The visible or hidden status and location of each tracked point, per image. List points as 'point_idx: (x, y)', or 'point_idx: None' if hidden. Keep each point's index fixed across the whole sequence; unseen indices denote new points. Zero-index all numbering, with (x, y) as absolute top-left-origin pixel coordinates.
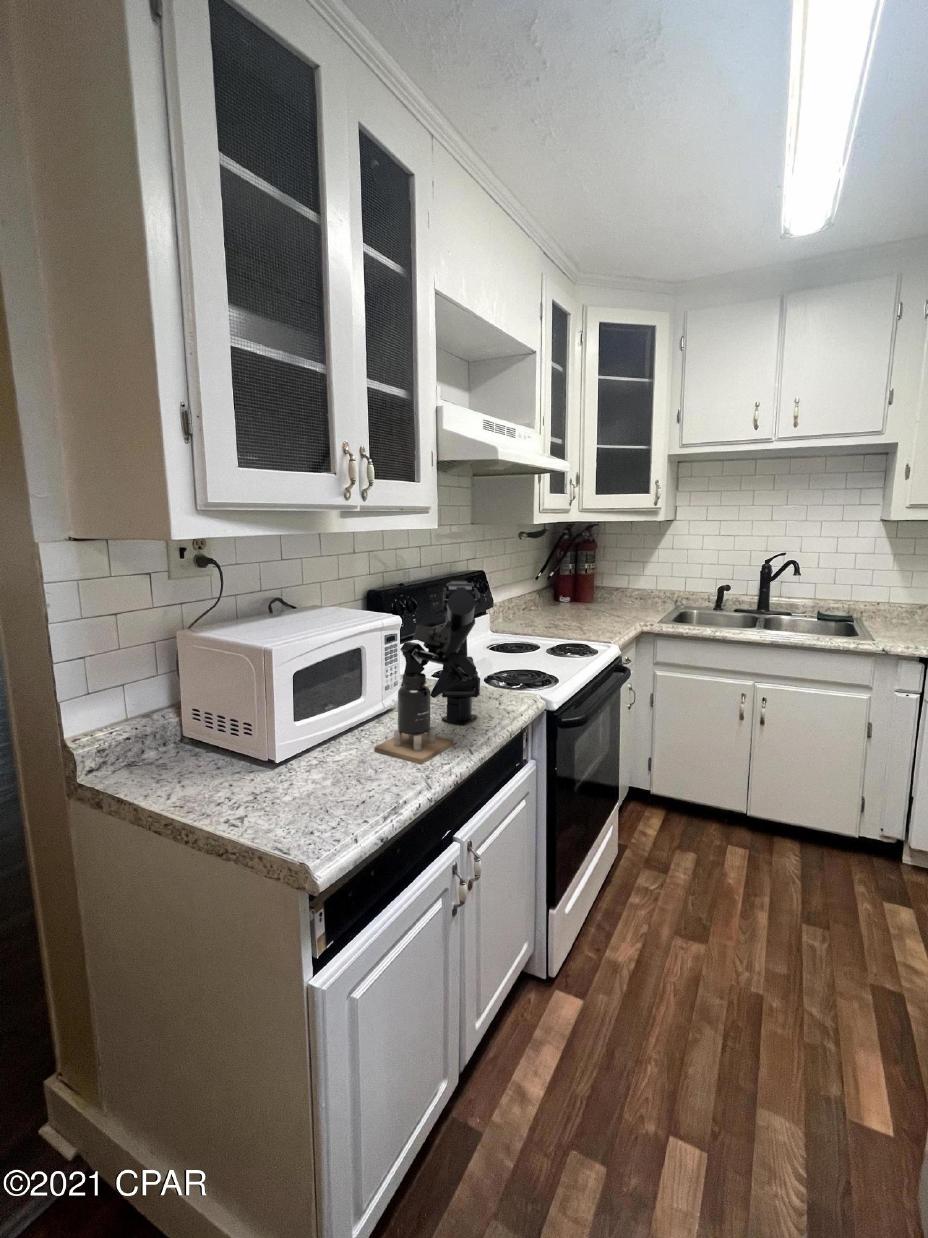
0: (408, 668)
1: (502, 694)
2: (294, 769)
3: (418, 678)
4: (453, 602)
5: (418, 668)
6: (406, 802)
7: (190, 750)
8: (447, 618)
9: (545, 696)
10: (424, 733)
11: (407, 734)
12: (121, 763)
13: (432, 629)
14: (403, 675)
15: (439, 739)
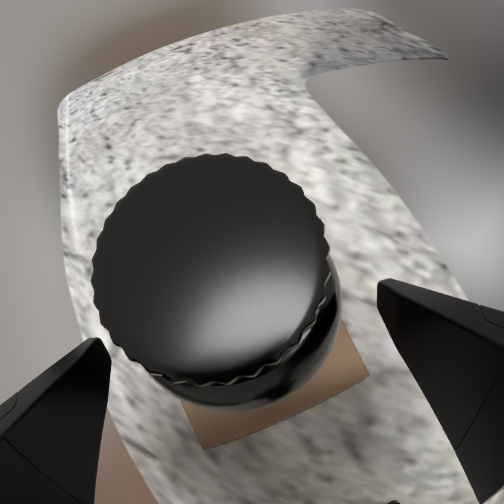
0: (480, 329)
1: None
2: (288, 96)
3: (100, 244)
4: None
5: (486, 450)
6: (62, 197)
7: (414, 52)
8: None
9: None
10: (309, 406)
11: (332, 354)
12: (391, 22)
13: None
14: (241, 157)
15: (232, 419)
